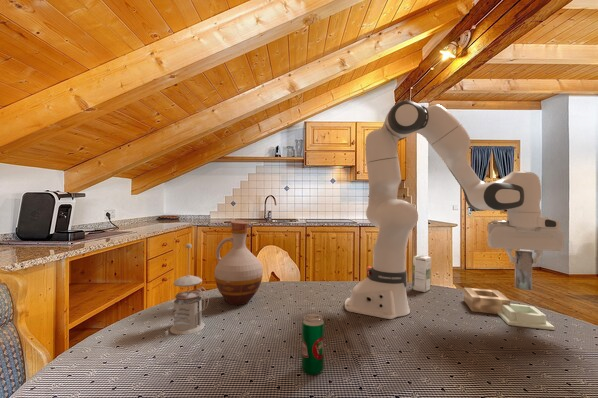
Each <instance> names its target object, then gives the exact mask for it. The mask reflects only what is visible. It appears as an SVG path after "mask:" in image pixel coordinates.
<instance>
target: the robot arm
mask: <svg viewBox="0 0 598 398" xmlns="http://www.w3.org/2000/svg"><path fill="white" fill-rule="evenodd" d="M414 133H415V134H419V135H420V136H422V137H423V138H425V140H426V141H427V142H428V144H429V145H430V147H431V148H432V149H433V150H434V152H436V154H437V155H438V156H439V157H440V158H441V160H442V162H443V163H444V164H445V165H446V168H447V169H448V170H449V172H450V173H451V174H452V176H453V177H454V179H455V180H456V182H457V183H458V185H459V186H460V187H461V189H462V192H463V195H464V199H465V202H466V204H467V206H468V207H470V208H471V209H472V210H474V211H479V212H483V211H485V212H486V211H492V212H493V211H494V212H495V211H497V212H499V211H501V212H502V211H506V212H507V213H506V215H507V216H506V218H507V219H506V220H492V221H490V222H488V224H487V226H486V227H487V240H486V241H487V242H486V243H487V246H488V247H489V248H491V249H497V250H499V249H501V250H505V253H506V254H507V256H508V257H509V263H511V264H515V263H517V261H516V260H517V258H516V257H515V256H514V255H513V254H512V253H514V250H525V251H534V253H535V254H534V255H533V256H532V265H538V264H539V259H540V258H541V256H542V255H543V251H545V252H546V251H551V252H552V251H553V252H561V251H562V250H563V249H564V236H563V232H562V229H561V228H560V227H561V222H560V221H559V220H556V219H553V218H550V217H549V218H548V217H546V216H542V210H541V206H540V202H541V201H542V186H541V180H540V177H539V175H538V174H536V173H534V172H531V171H524V170H523V171H521V170H517V171H516V170H515V171H510V173H509V174H506V176H503V177H502V178H500V179H497V180H494V181H490V182H489V181H488V182H485V181H483V180H481V179H480V178H479V176H478V175H477V173H476V172H475V171H474V169H473V168H472V166H471V165H470V163H469V161H468V157H467V156H468V152H469V150H470V147H471V144H472V143H471V142H472V140H471V137H470V135H469V134H468V132H467V130H466V128H465V127H464V126H463V124H461V123H460V121H459V120H458V119H457V118H456V116H454V115H453V114H452V112H450V111H449V110H448V109H446V108H445V107H444V106H443V105H440V104H438V103H437V104H432V105H429V106H427V107H426V106H425V105H422V104H419V103H417V102H414V101H413V100H401V101H399V102H397V103H395V104H394V105H393V106H392V107H391V108H390V109H389V111H388V112H387V114H386V116H385V119H384V122H383V125H382V127H380V128H376V129H374V130H371V131H370V132H368V134H367V135H366V138H365V147H364V150H365V163H366V168H367V170H366V171H367V177H368V179H367V180H368V205H367V208H366V210H365V211H366V212H365V214H366V215H365V216H366V218H367V220H368V222H369V223H370V224H372V226H374V227H376V228H379V230H378V234H377V239H376V241H375V243H374V244H373V247H372V249H373V250H372V251H373V252H372V266H367V267H366V278H365V279H363V280H362V281H359V283H357V284H356V285H354V286H353V288H352V291H351V295H350V297H347V298H346V299H345V301H344V309H345V310H346V311H347V312H350V313H356V314H362V315H366V316H372V317H377V318H382V319H385V320H387V319H388V320H393V319H395V318H398V317H404V316H407V315H409V314H410V312H411V310H410V306H409V302H408V296H407V295H408V294H407V284H408V272H407V270H406V268H407V267H406V266H407V265H406V263H407V261H406V260H407V259H406V258H407V257H406V256H407V246H408V243H409V242H408V241H409V238H410V235H411V232H412V230H413V228H415V226H417V223H418V220H419V214H418V210H417V208H416V207H415V206H414V205H413V204H412V203H410V202H408V201H406V200H404V199H400V198H399V199H398V193H399V187H400V184H401V182H402V173H401V167H400V160H399V159H400V158H399V153H398V142H400V141H402V140H405V139H406V138H407V137H409V136H411V135H413V134H414ZM559 228H560V229H559Z"/></svg>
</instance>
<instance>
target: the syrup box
mask: <svg viewBox="0 0 598 398" xmlns="http://www.w3.org/2000/svg"><path fill="white" fill-rule="evenodd" d="M431 276H432V257H431V256H427V255H424V254H419V255H418V254H417V255H415V256H413V257H412V279H411V280H412V282H411V283H412V285H411V289H412V290H414V291H418V292H423V293H426V292H429V291H431V282H432V281H431V279H432V277H431Z"/></svg>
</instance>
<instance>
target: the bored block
mask: <svg viewBox="0 0 598 398" xmlns="http://www.w3.org/2000/svg"><path fill="white" fill-rule="evenodd" d="M463 301H464V303H465V304H466V305H467V307H469V309H470V310H471V312H476V313H485V314H486V313H487V314H495V315H498V311H502V304H506V305H508V306H509V307H510V304H511V300H510V298H508V297H507V296H506V295H504V293H502V292H501V291H499V290H497V289H483V288H472V287H463Z"/></svg>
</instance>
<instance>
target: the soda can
mask: <svg viewBox="0 0 598 398" xmlns="http://www.w3.org/2000/svg"><path fill="white" fill-rule="evenodd" d="M301 369H302V372H304V373H305V374H307V375H310V376H316V375H317V376H318V375H319V374H322V372H323V371H324V369H325V321H324V317H323V316H322V315H321V314H318V313H306V314H305V315H304V316H303V319H302V320H301Z"/></svg>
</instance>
